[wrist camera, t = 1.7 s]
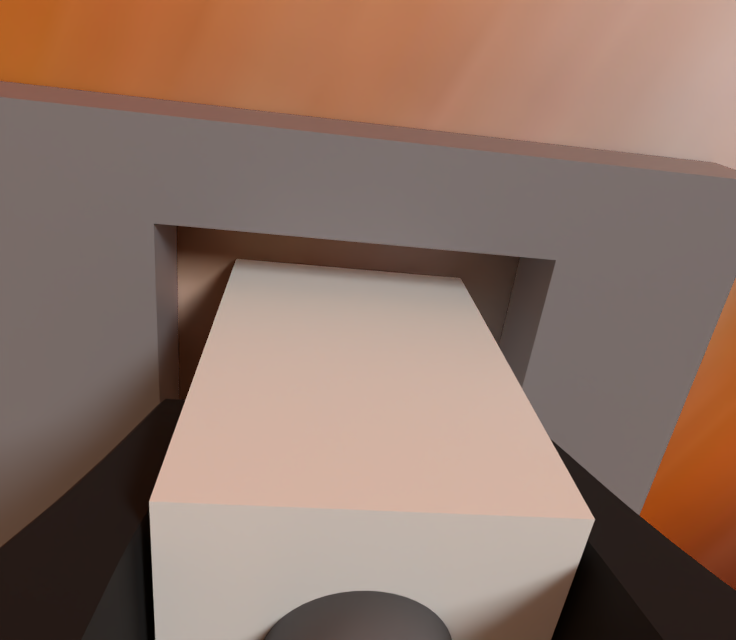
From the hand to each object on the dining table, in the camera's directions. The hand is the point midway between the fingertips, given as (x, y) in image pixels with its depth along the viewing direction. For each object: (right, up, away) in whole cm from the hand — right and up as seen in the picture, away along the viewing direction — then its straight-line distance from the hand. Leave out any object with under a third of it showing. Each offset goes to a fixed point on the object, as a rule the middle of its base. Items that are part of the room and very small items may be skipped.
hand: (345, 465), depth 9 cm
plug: (0, +1, +3) cm, 3 cm away
